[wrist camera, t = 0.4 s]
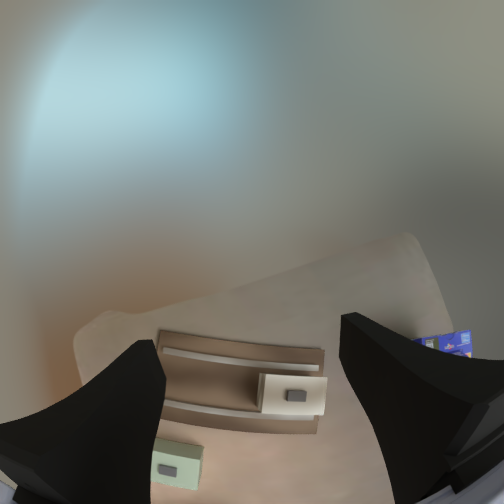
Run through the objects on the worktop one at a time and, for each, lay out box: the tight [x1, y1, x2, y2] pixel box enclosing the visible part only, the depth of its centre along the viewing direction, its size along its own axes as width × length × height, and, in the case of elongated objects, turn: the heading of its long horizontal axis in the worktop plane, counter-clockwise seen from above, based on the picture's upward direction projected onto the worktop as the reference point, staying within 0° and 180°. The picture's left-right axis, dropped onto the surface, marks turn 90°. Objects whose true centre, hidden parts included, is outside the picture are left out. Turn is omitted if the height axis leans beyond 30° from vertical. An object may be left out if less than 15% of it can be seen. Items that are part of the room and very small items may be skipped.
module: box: [151, 438, 204, 490], centre depth 26 cm, size 4×7×7 cm, turn 84°
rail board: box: [157, 330, 327, 434], centre depth 30 cm, size 12×22×8 cm, turn 84°
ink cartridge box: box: [411, 330, 472, 358], centre depth 30 cm, size 10×6×14 cm, turn 89°
